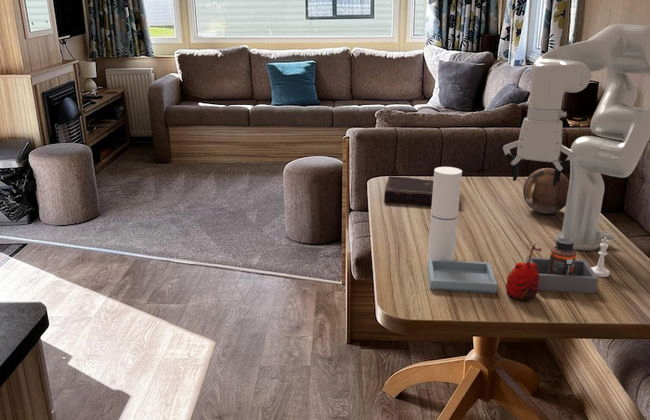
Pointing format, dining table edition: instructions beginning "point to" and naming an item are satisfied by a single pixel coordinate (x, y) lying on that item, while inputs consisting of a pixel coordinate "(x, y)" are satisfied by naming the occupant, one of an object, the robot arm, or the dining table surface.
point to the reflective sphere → (545, 191)
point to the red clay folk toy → (523, 280)
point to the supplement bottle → (562, 258)
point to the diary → (408, 191)
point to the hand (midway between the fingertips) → (534, 181)
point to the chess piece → (601, 261)
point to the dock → (566, 277)
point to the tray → (461, 276)
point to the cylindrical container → (444, 213)
